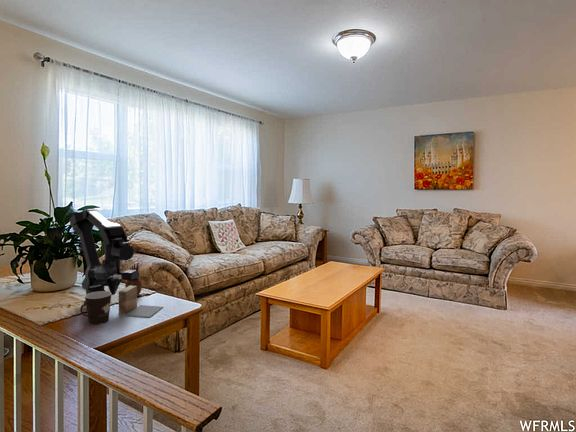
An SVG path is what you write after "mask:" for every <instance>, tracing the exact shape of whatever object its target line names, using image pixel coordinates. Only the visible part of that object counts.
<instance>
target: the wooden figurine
mask: <svg viewBox="0 0 576 432" xmlns="http://www.w3.org/2000/svg"><path fill="white" fill-rule="evenodd" d="M129 270H137V271H138V273H139V277H137V278H135V279H133V280H125V281H126V282H125V284H124V285H125V286H124V287H125V288H126V287H128V286H137V296H139V295H140V294H141V292H142V289H143V282H142V280H141V279H140V276H141V275H140V271H139V262H137V264H135V263H134V264H133V265H131V267H129Z"/></svg>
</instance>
